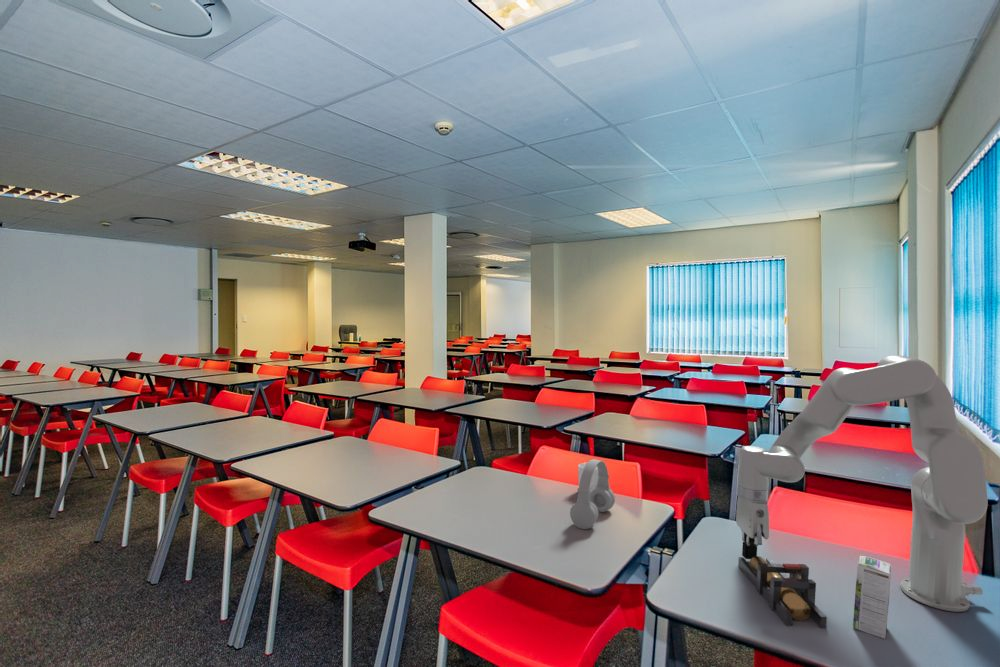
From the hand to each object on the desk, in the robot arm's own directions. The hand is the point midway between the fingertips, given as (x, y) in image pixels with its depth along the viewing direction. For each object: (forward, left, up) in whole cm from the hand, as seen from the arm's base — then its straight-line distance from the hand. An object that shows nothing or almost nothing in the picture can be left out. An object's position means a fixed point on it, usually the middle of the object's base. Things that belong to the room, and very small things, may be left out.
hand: (749, 557), depth 134 cm
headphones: (+40, -23, -1) cm, 46 cm away
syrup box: (-14, +27, -1) cm, 30 cm away
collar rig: (0, +15, -1) cm, 15 cm away
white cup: (+39, -46, -1) cm, 60 cm away
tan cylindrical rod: (0, +16, -1) cm, 16 cm away
